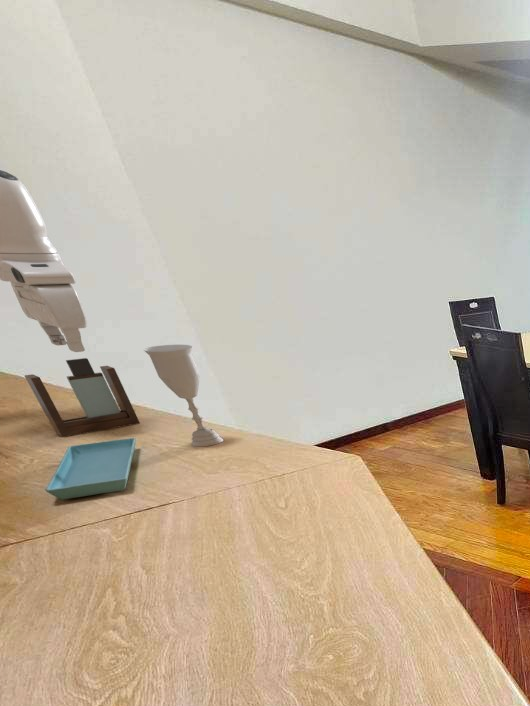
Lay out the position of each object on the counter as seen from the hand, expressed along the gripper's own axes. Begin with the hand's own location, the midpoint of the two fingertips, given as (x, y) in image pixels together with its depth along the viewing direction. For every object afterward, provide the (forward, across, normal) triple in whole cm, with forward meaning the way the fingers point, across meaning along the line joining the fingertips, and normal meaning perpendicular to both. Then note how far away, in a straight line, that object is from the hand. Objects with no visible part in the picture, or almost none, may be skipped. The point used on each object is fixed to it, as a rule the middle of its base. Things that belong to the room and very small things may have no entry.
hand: (69, 348), depth 115 cm
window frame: (+16, 0, -1) cm, 16 cm away
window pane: (+14, 0, 0) cm, 14 cm away
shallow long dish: (+16, +31, -10) cm, 37 cm away
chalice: (+16, +26, +7) cm, 31 cm away
